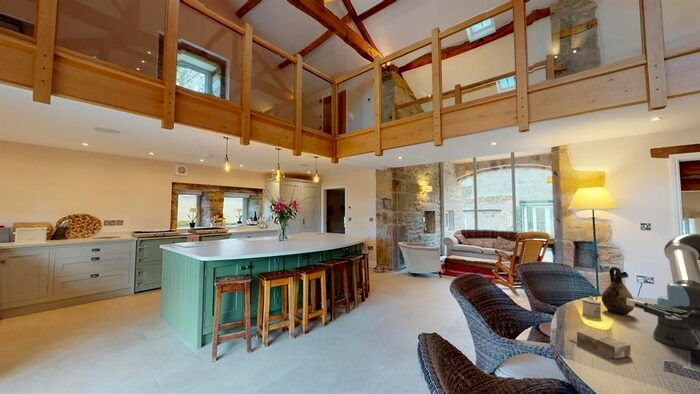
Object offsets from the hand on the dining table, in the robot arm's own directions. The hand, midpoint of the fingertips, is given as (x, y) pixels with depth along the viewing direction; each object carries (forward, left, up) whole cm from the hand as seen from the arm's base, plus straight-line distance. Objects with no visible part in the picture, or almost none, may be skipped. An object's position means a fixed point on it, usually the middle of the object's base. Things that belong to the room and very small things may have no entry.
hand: (627, 301), depth 120 cm
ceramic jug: (-29, -71, -27) cm, 82 cm away
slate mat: (+7, -10, -26) cm, 29 cm away
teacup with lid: (-12, -61, -27) cm, 68 cm away
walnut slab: (+1, -2, -24) cm, 24 cm away
